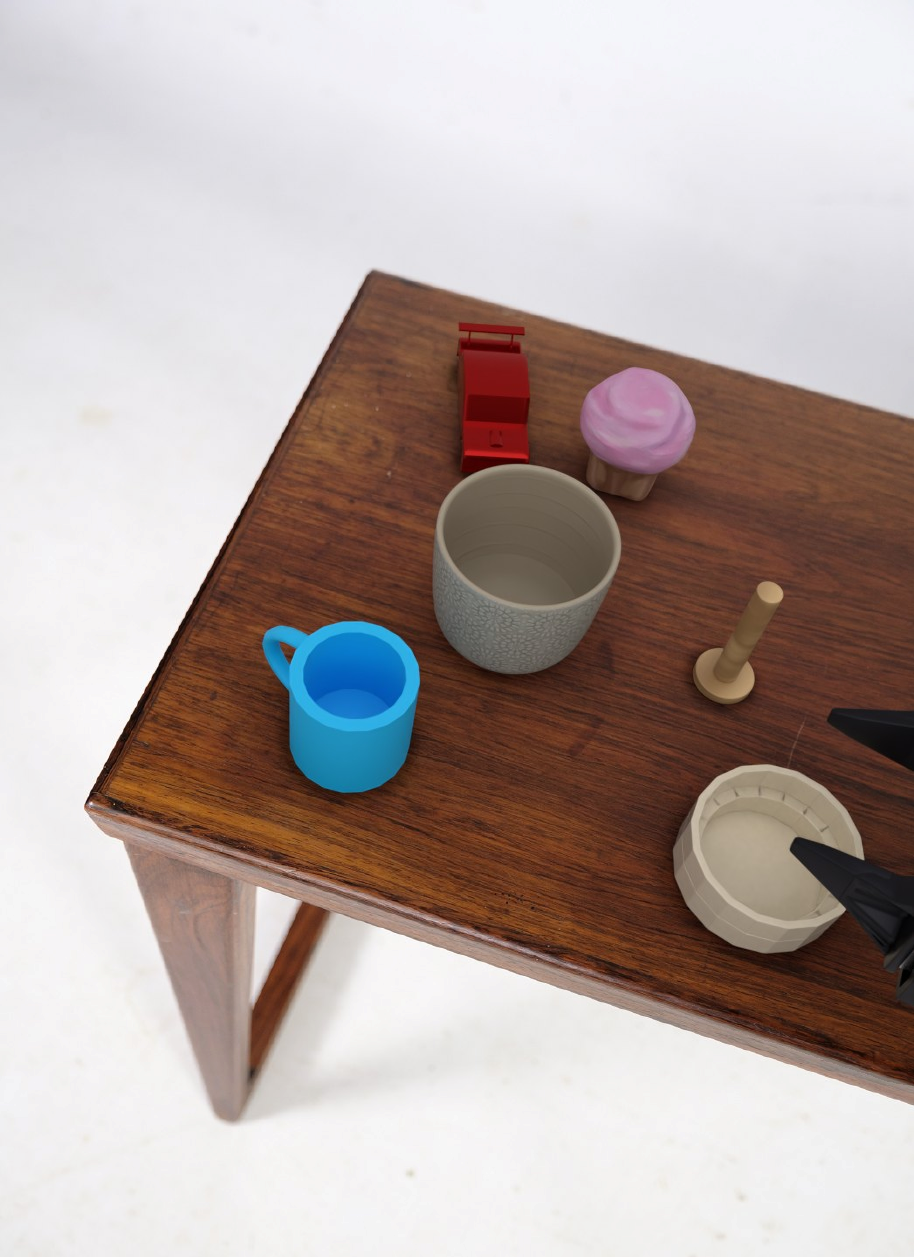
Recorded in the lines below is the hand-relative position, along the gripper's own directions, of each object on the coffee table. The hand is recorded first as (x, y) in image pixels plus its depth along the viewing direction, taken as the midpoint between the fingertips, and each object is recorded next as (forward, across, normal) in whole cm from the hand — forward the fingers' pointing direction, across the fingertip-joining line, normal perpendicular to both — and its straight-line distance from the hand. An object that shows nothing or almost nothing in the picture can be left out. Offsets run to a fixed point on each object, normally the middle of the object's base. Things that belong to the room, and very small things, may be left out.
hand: (811, 776), depth 66 cm
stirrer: (+6, -16, +14) cm, 22 cm away
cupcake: (+19, -31, +13) cm, 38 cm away
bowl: (0, -2, +15) cm, 15 cm away
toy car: (+31, -32, +12) cm, 46 cm away
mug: (+30, 0, +14) cm, 33 cm away
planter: (+22, -13, +13) cm, 29 cm away
